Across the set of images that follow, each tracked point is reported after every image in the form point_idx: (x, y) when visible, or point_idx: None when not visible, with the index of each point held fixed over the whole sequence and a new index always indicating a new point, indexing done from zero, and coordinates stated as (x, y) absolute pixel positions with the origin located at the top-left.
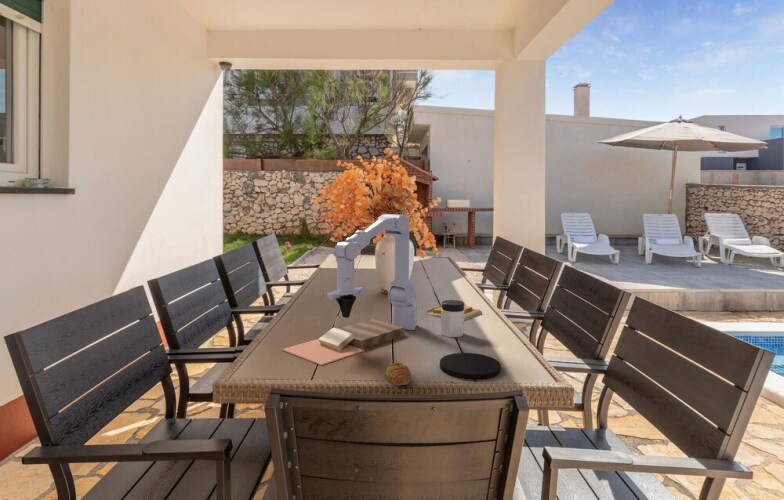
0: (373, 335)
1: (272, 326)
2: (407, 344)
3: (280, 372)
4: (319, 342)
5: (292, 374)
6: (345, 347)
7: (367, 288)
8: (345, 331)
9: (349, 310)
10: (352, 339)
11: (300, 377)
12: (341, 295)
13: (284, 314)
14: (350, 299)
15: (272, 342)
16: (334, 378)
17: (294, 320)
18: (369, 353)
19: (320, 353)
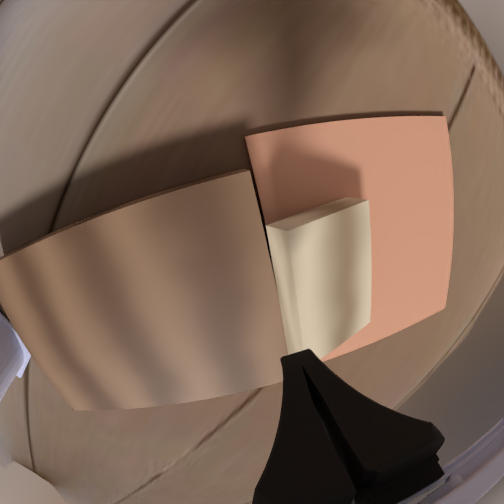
0: (137, 222)
1: None
2: (32, 138)
3: (501, 157)
4: None
5: (492, 125)
6: None
7: (73, 500)
8: (297, 289)
9: (304, 389)
10: (277, 222)
11: (486, 96)
12: (458, 476)
13: None
14: (372, 464)
15: (415, 369)
16: (437, 25)
17: None
18: (239, 98)
19: (410, 210)
